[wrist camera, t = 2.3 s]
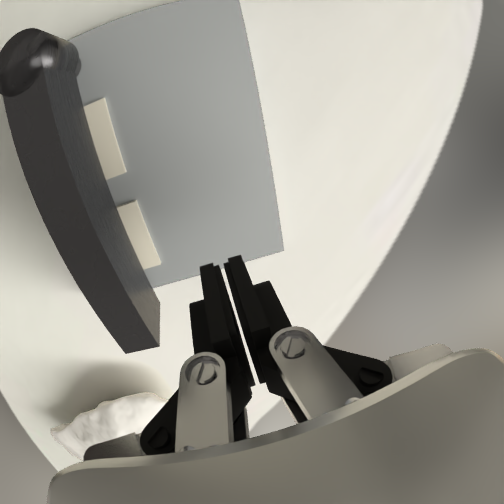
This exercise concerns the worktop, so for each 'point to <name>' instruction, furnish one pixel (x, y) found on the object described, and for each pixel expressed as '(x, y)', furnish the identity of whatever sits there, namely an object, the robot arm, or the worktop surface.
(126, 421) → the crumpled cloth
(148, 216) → the label panel
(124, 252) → the swing arm
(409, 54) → the worktop surface
